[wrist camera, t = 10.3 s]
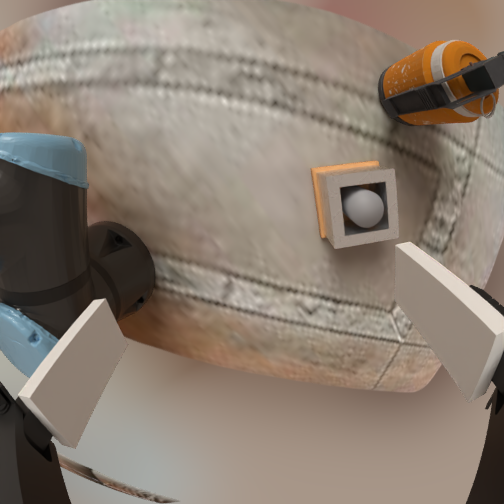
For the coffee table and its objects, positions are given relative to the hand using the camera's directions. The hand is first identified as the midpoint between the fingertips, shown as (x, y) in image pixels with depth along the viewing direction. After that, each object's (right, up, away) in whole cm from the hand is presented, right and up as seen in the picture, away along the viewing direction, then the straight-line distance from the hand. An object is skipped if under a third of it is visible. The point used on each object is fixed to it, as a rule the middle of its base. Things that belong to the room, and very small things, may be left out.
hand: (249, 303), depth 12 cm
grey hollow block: (+13, +9, +23) cm, 27 cm away
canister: (+20, +23, +19) cm, 36 cm away
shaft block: (+13, +9, +24) cm, 29 cm away
